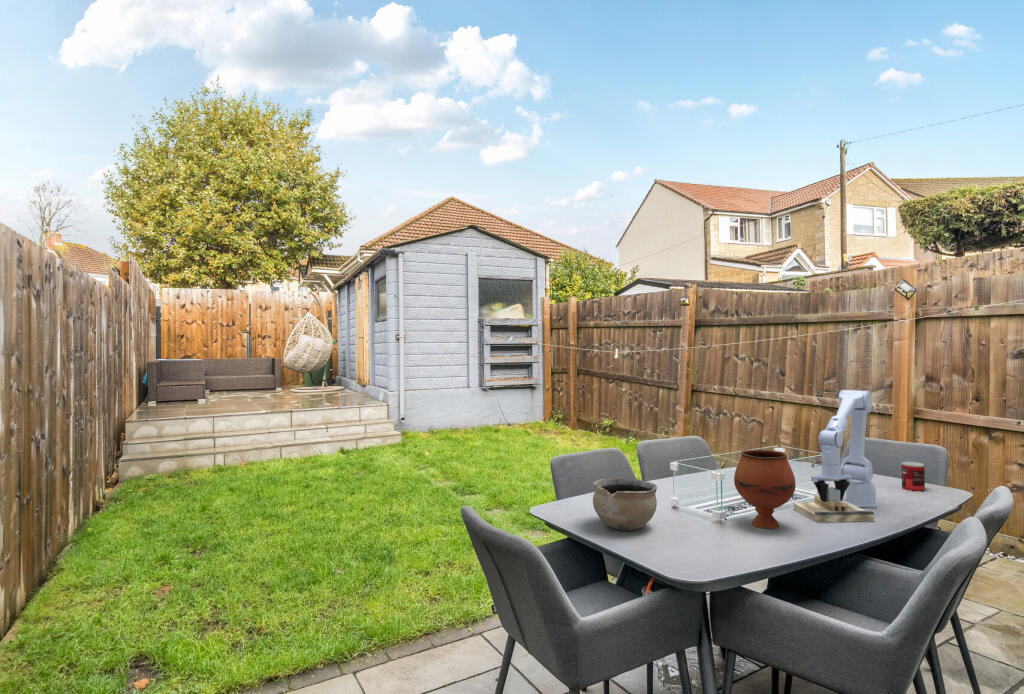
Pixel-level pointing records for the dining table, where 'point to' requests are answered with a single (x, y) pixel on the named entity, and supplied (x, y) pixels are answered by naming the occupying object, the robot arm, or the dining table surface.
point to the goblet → (764, 483)
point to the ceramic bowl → (624, 502)
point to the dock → (833, 513)
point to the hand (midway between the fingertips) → (831, 501)
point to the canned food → (913, 476)
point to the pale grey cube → (833, 494)
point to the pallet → (831, 504)
